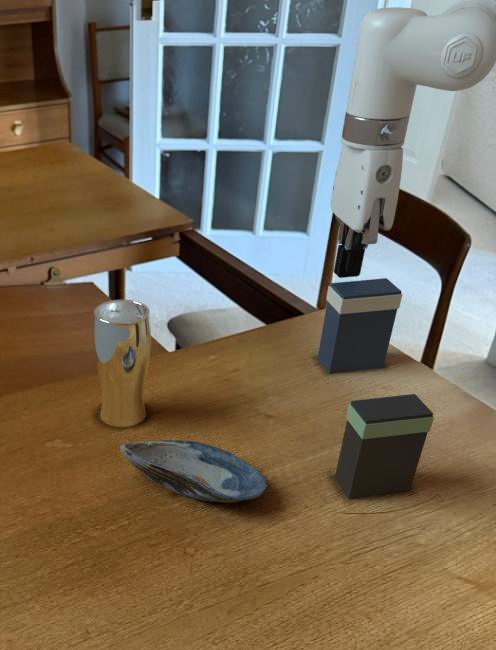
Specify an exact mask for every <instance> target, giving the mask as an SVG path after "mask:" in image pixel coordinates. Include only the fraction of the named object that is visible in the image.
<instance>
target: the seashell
mask: <svg viewBox="0 0 496 650" xmlns="http://www.w3.org/2000/svg"><path fill="white" fill-rule="evenodd" d="M119 451H120V453H121V455H122V456H123V457H124V458H125V459H126V460H127V462H129V463H130V465H132V467H134V468H135V469H136V470H137V471H138V472H139V473H141V474H142V475H143V476H145V477H146V478H147V479H148V480H150V481H152V482H153V483H155V484H156V485H159V486H161V487H164V488H165V489H168V490H170V491H172V492H174V493H176V494H178V495H181V496H183V497H187V498H190V499H194V500H198V501H203V502H219V503H237V502H240V501H249V500H253V499H257V498H259V497H261V496H262V495H263V494H264V493H265V491H267V489H268V482H267V479H266V477H265V475H264V474H263V473H261V472H260V471H259V470H258V469H256V468H255V467H254V466H253V465H251V464H249V462H247V461H245V460H244V459H243V458H240V457H239V456H237V455H235V454H234V453H233V452H230V451H228V450H224V449H222V448H220V447H216V446H214V445H211V444H207V443H203V442H198V441H192V440H184V439H183V440H182V439H179V440H178V439H176V440H175V439H173V440H171V439H159V440H158V439H157V440H156V439H153V440H148V441H135V442H125V443H122V444H121V445H119ZM199 478H200V479H202V480H203V481H202V480H200V479H199ZM205 482H206V483H205ZM207 483H208V484H207Z"/></svg>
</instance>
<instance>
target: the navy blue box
mask: <svg viewBox="0 0 496 650" xmlns="http://www.w3.org/2000/svg"><path fill="white" fill-rule="evenodd" d="M402 298H403V293H402V290H401V289H400V288H399V287H398V286H396V285H395V284H394V283H393V282H392V281H391V280H389V279H388V278H387V277H383V278H372V279H362V280H361V279H360V280H351V281H339V282H330V285H328V287H327V293H326V298H325V299H326V301H327V302H326V306H325V313H324V318H323V323H322V330H321V336H320V341H319V347H318V352H317V360H318V361H319V362H320V364H321V365H322V366H323V368H324V369H325V370H326V371H327V373H328V374H336V373H338V374H339V373H346V372H356V371H357V372H358V371H366V370H374V369H384V367H385V362H386V358H387V354H388V351H389V348H390V347H389V346H390V342H391V338H392V334H393V329H394V326H395V321H396V318H397V313H398V310H399V309H400V306H401V303H402Z"/></svg>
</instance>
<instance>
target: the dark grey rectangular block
mask: <svg viewBox="0 0 496 650" xmlns="http://www.w3.org/2000/svg"><path fill="white" fill-rule="evenodd" d="M434 418H435V417H434V412H433V411H432V410H431V409H430V408H429V407H428V406H427V405H426V403H425V402H423V401H422V400H421V399H420V398H419V396H418V395H417V394H416V393H410V394H401V395H391V396H384V397H382V396H381V397H374V398H373V397H372V398H365V399H364V398H363V399H355V400H350V403H348V406H347V409H346V416H345V419H346V423H345V427H344V428H345V429H344V432H343V436H342V442H341V447H340V451H339V456H338V460H337V465H336V470H335V474H334V479H335V481H336V482H337V484H338V485H339V487H340V488H341V489H342V491H343V493H344V494H345V496H346V497H347V500H352V499H360V498H369V497H377V496H384V495H385V496H386V495H393V494H402V493H409V492H411V489H412V486H413V484H414V483H413V482H414V479H415V476H416V473H417V469H418V466H419V463H420V460H421V456H422V452H423V449H424V446H425V442H426V441H427V440H426V439H427V436H428V433H429V432H431V429H432V426H433V422H434Z"/></svg>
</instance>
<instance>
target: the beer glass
mask: <svg viewBox="0 0 496 650" xmlns="http://www.w3.org/2000/svg"><path fill="white" fill-rule="evenodd" d="M150 318H151V317H150V308H149V307H148V306H147V305H146V304H145V303H143V302H140V301H137V300H133V299H132V300H131V299H113V300H108V301H105V302H102V303H100V304H99V305H98V306H96V307H95V308H94V310H93V329H92V330H93V334H92V335H93V338H92V340H93V341H92V344H93V355H94V362H95V366H96V367H95V368H96V373H97V376H98V380H99V384H100V389H101V397H102V399H101V400H102V402H101V410H100V415H99V416H100V420H101V421H102V422H104V423H105V424H107V425H109V426H112V427H117V428H128V427H133V426H136V425H138V424H140V423H141V422H143V421H144V420H145V419H146V416H147V411H146V407H145V399H144V393H145V386H146V381H147V377H148V372H149V365H150V360H151V359H150V358H151V352H152V351H151V350H152V349H151V348H152V331H151V319H150Z"/></svg>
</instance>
